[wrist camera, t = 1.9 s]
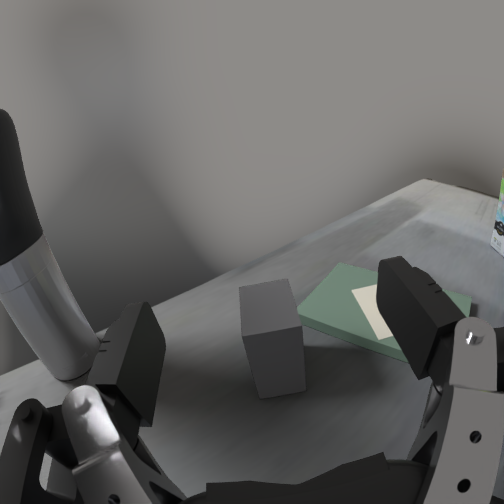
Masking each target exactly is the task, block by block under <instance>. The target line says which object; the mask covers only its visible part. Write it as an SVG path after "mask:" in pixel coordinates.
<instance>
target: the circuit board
mask: <svg viewBox="0 0 504 504" xmlns="http://www.w3.org/2000/svg"><path fill="white" fill-rule="evenodd" d="M377 280H378V272H375V271H371V270H367V269H364V268H360V267H356V266H352V265H348V264H344V263H340V262H339V263H338V265H337V266H336V267H335V268H334V269H333V270H332V271H331V272H330V273H329V274H328V276H327V277H326V278H325V279H324V280H323V281H322V282H321V283H320V284H319V285H318V286H317V287H316V288H315V290H314V291H313V292H312V293H311V294H310V295H309V296H308V297H307V298H306V299H305V300H304V301H303V302H302V303H301V304H300V305H299V306H298V307H297V310H298V314H299V317H300V321H301V324H303V325H306V326H308V327H311V328H313V329H316V330H318V331H321V332H324V333H326V334H329V335H331V336H334V337H337V338H339V339H342V340H345V341H347V342H350V343H353V344H356V345H358V346H361V347H364V348H367V349H369V350H372V351H375V352H378V353H381V354H384V355H386V356H389V357H392V358H395V359H398V360H401V361H404V362H407V363H409V362H408V361H407V359H406V357H405V355H404V353H403V352H402V350H401V348H400V346H399V345H398V343H397V341H396V340H395V338H394V336H393V334H392V333H391V331H390V329H389V328H388V326H387V324H386V323H385V321H384V319H383V318H382V316H381V314H380V313H379V310H378V308H377V303H376V290H377ZM442 291H444V292H445V293H446V294H447V295H448V296H449V297H450V298H451V300H452V301H453V302H454V303H455V304H456V305H457V307H458V308H459V309H460V310H461V311H462V312H463V314H464V315H465V316H466V317H469V313H470V306H471V299H472V297H470V296H466V295H463V294H459V293H455V292H451V291H448V290H444V289H442Z"/></svg>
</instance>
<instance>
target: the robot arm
mask: <svg viewBox="0 0 504 504" xmlns="http://www.w3.org/2000/svg"><path fill="white" fill-rule="evenodd" d="M0 300H1V301H2V303H3V305H4V306H5V308H6V310H7V311H8V313H9V315H10V316H11V318H12V319H13V321H14V323H15V324H16V326H17V327H18V328H19V330H20V332H21V333H22V335H23V336H24V338H25V339H26V341H27V342H28V343H29V345H30V346H31V348H32V349H33V350H34V352H35V353H36V355H37V356H38V357H39V359H40V360H41V361H42V362H43V364H44V365H45V366H46V367H47V369H48V370H49V371H50V372H51V374H52V375H53V376H54V377H55V378H57V379H59V380H71V379H74V378H77V377H79V376H81V375H82V374H84V373H85V372H86V371H88V370H89V369H90V368H91V367H92V368H91V370H90V373H89V375H88V378H87V381H86V383H85V386H80V387H77V388H75V389H73V390H72V391H71V392H70V393H69V394H68V395H67V396H66V397H65V399H64V401H63V404H62V405H58V406H54V407H50V408H45V407H44V406H43V405H42V404H41V403H40V402H39V401H38V400H37V399H27V400H25V401H23V402H22V403H21V404H20V405H19V406H18V407H17V409H16V411H15V413H14V416H13V419H12V421H11V424H10V427H9V430H8V433H7V436H6V439H5V442H4V446H3V449H2V452H1V456H0V504H504V500H502V499H500V498H497V497H495V496H492V493H493V489H494V485H495V481H496V476H497V471H498V466H499V461H500V455H501V449H502V442H503V434H504V327H501V328H492V326H491V325H490V324H489V323H487V322H486V321H485V320H483V319H480V318H477V317H466V316H465V315H464V314H463V312H462V311H461V310H460V309H459V308H458V307H457V305H456V304H455V303H454V302H453V301H452V300H451V298H450V297H449V296H448V295H447V294H446V293H445V292H444V291H442V288H441V287H440V286H439V285H438V284H436V282H435V281H434V280H433V279H432V278H431V276H430V275H429V274H428V273H426V272H424V271H422V270H421V269H419V268H417V267H413V268H412V266H411V265H410V264H409V263H408V262H407V261H406V260H405V259H404V258H403V257H402V256H397V257H393V258H388V259H383V260H381V261H380V262H379V267H378V280H377V290H376V303H377V308H378V310H379V313H380V314H381V316H382V318H383V319H384V321H385V323H386V324H387V326H388V328H389V329H390V331H391V333H392V334H393V336H394V338H395V340H396V341H397V343H398V345H399V346H400V348H401V350H402V352H403V353H404V355H405V357H406V359H407V361H408V362H409V364H410V366H411V368H412V370H413V371H414V373H415V375H416V377H417V379H418V380H420V379H423V378H425V377H428V376H430V377H431V379H432V383H431V386H430V390H429V394H428V399H427V403H426V407H425V411H424V414H423V418H422V422H421V425H420V429H419V432H418V435H417V437H416V439H415V441H414V443H413V445H412V447H411V449H410V452H409V454H408V457H407V459H406V460H386V458H385V455H384V453H383V452H382V453H379V454H376V455H373V456H370V457H366V458H363V459H360V460H357V461H353V462H350V463H346V464H342V465H340V466H338V467H336V468H334V469H332V470H330V471H328V472H326V473H324V474H322V475H319V476H317V477H315V478H313V479H310V480H308V481H306V482H303V483H301V484H296V485H291V484H276V483H265V482H256V481H240V482H222V483H206V492H202V493H200V494H197V495H194V496H192V497H189V498H187V497H186V496H185V495H184V493H183V492H182V491H181V490H180V489H179V488H178V487H177V486H176V485H175V484H174V483H173V482H172V481H171V480H170V479H169V478H168V477H167V475H166V474H165V473H164V471H163V470H162V469H161V467H160V466H159V464H158V463H157V461H156V460H155V459H154V457H153V456H152V454H151V453H150V451H149V449H148V448H147V446H146V445H145V443H144V442H143V440H142V439H141V437H140V436H139V435H138V432H139V426H140V427H152V423H153V416H154V410H155V404H156V398H157V393H158V387H159V382H160V376H161V371H162V366H163V361H164V356H165V351H166V343H165V337H164V334H163V332H162V330H161V328H160V326H159V324H158V322H157V319H156V317H155V315H154V313H153V311H152V309H151V306H150V305H149V303H148V302H140V303H133V304H127V305H126V306H125V307H124V309H123V312H122V314H121V316H120V319H119V320H115V322H114V323H113V324H112V325H111V326H110V327H109V328H108V330H107V331H106V333H105V336H104V338H103V340H102V342H103V343H101V345H100V342H99V340H98V338H97V337H96V335H95V333H94V332H93V330H92V328H91V327H90V325H89V323H88V322H87V320H86V318H85V316H84V315H83V313H82V311H81V309H80V308H79V306H78V304H77V302H76V300H75V298H74V297H73V295H72V293H71V291H70V289H69V287H68V285H67V283H66V281H65V279H64V277H63V275H62V273H61V271H60V269H59V267H58V264H57V262H56V260H55V258H54V256H53V254H52V251H51V249H50V247H49V244H48V242H47V240H46V237H45V235H44V232H43V230H42V227H41V225H40V222H39V219H38V216H37V213H36V210H35V207H34V203H33V200H32V197H31V194H30V191H29V187H28V183H27V180H26V176H25V171H24V167H23V162H22V157H21V152H20V147H19V142H18V137H17V133H16V130H15V126H14V123H13V121H12V119H11V117H10V116H9V114H8V113H7V112H6V111H5V110H3V109H0ZM44 453H46V454H48V455H49V456H50V457H52V463H51V467H50V472H49V477H48V483H47V489H46V491H45V490H44V489H43V488H42V487H41V485H40V482H39V476H40V471H41V466H42V462H43V457H44Z"/></svg>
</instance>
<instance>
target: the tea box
mask: <svg viewBox="0 0 504 504" xmlns="http://www.w3.org/2000/svg"><path fill="white" fill-rule="evenodd" d="M491 246H492V247H493V248H494V249H495V250H496V251H497V252H498V253H500V254H501V255H502V256H503V257H504V168H503V174H502V183H501V191H500V198H499V204H498V210H497V216H496V221H495V227H494V231H493V235H492V240H491Z"/></svg>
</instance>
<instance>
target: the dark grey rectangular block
mask: <svg viewBox="0 0 504 504" xmlns="http://www.w3.org/2000/svg"><path fill="white" fill-rule="evenodd" d="M239 295H240V313H241V331H242V339H243V342H244V346H245V350H246V353H247V357H248V360H249V364H250V367H251V371H252V374H253V378H254V381H255V385H256V388H257V391H258V395H259V398H260V399H264V398H270V397H276V396H282V395H288V394H293V393H298V392H303V391H306V376H305V360H304V345H303V332H302V324H301V321H300V317H299V314H298V310H297V307H296V304H295V301H294V297H293V294H292V291H291V287H290V284H289V281H288V279H282V280H277V281H271V282H266V283H260V284H255V285H249V286H243V287H239Z"/></svg>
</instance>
